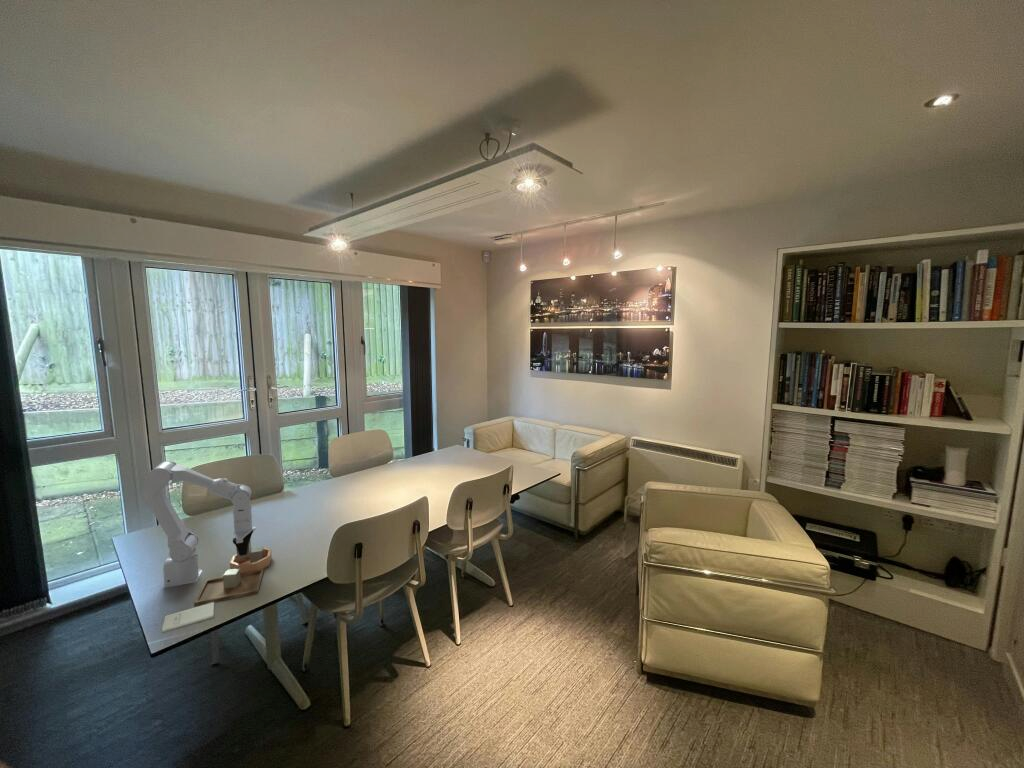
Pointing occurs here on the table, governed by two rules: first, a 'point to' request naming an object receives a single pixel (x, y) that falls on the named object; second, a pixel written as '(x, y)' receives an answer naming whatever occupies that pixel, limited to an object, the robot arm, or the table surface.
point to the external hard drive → (188, 617)
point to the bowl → (250, 567)
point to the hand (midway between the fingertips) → (244, 552)
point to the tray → (217, 592)
